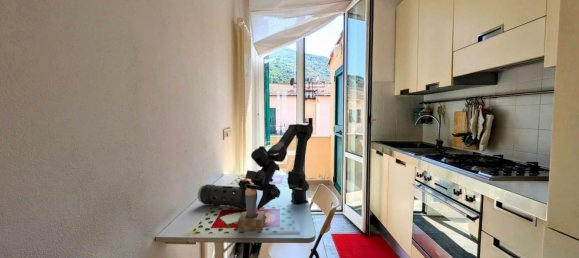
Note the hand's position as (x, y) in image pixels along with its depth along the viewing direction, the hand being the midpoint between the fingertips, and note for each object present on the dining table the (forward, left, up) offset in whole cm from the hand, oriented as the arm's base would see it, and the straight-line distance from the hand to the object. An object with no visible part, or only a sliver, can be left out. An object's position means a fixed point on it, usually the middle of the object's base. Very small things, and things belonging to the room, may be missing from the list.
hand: (248, 207), depth 101 cm
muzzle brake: (+1, -29, -8) cm, 30 cm away
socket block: (-1, -1, -8) cm, 8 cm away
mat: (+3, -12, -8) cm, 14 cm away
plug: (-1, -1, -8) cm, 8 cm away
